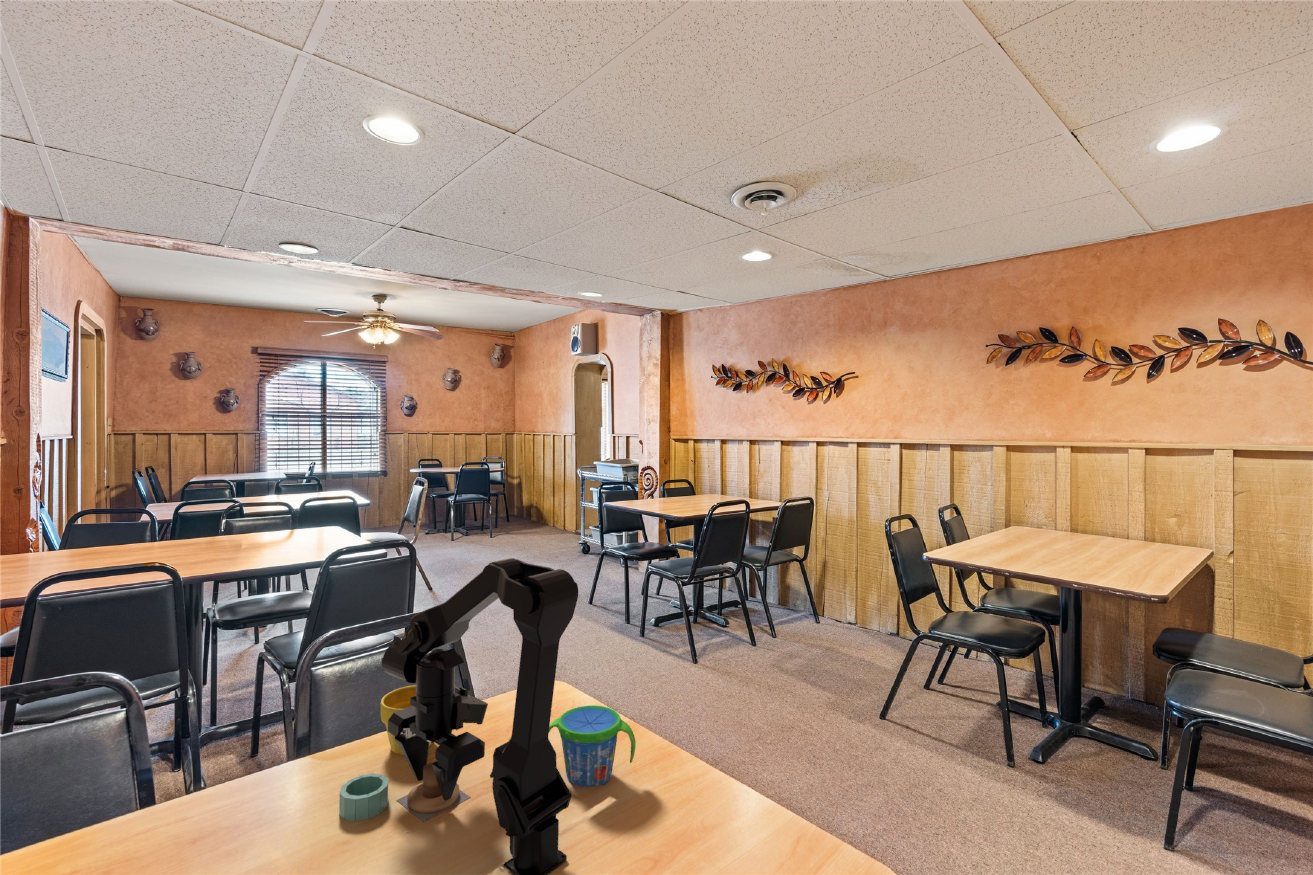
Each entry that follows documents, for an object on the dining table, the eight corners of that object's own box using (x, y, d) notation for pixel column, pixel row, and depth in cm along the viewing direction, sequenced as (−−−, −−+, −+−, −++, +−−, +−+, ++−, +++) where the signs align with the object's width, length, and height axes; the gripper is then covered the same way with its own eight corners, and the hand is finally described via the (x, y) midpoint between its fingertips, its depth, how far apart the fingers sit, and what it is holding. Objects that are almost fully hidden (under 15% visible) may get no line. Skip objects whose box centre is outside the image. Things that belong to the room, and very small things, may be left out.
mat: (470, 802, 96) (470, 797, 96) (423, 827, 90) (423, 821, 90) (442, 783, 101) (442, 778, 101) (396, 805, 95) (396, 800, 95)
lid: (468, 797, 96) (469, 765, 96) (423, 820, 90) (424, 786, 90) (442, 779, 101) (442, 749, 101) (398, 800, 95) (398, 768, 95)
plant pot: (373, 767, 105) (373, 710, 105) (387, 737, 116) (388, 686, 115) (436, 761, 107) (437, 706, 107) (444, 733, 118) (445, 682, 117)
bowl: (395, 810, 93) (396, 784, 93) (351, 831, 88) (352, 804, 88) (375, 793, 98) (375, 768, 98) (332, 813, 93) (332, 786, 93)
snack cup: (532, 789, 100) (533, 727, 100) (556, 756, 110) (557, 700, 110) (625, 803, 96) (626, 739, 96) (641, 768, 107) (642, 710, 107)
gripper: (514, 690, 95) (513, 790, 96) (448, 660, 107) (447, 748, 108) (451, 715, 87) (449, 824, 87) (386, 679, 99) (385, 775, 99)
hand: (433, 789), depth 95 cm, fingers open, 7 cm apart
